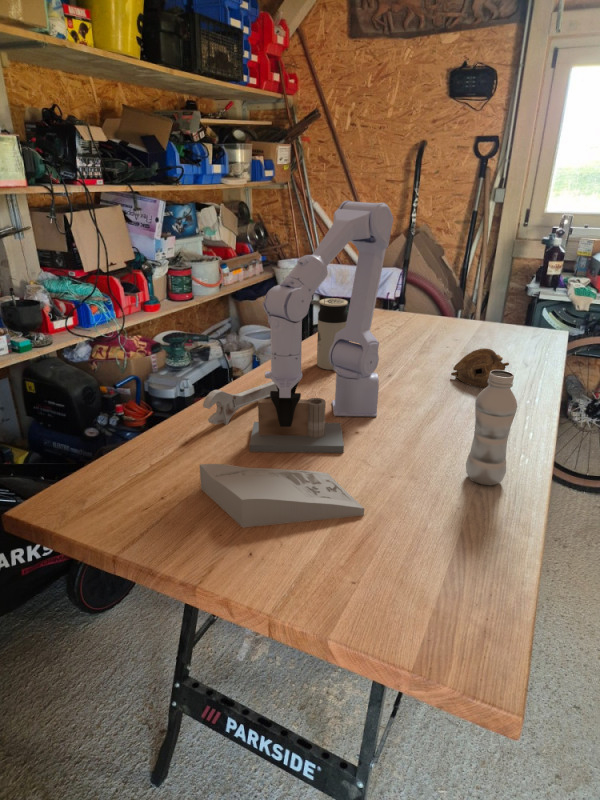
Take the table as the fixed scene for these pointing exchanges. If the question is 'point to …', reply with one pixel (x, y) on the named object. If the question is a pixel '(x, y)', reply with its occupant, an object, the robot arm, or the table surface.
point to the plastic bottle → (492, 429)
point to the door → (304, 420)
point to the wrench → (234, 401)
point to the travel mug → (329, 328)
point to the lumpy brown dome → (478, 367)
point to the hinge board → (299, 441)
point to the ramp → (276, 495)
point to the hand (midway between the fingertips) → (286, 417)
